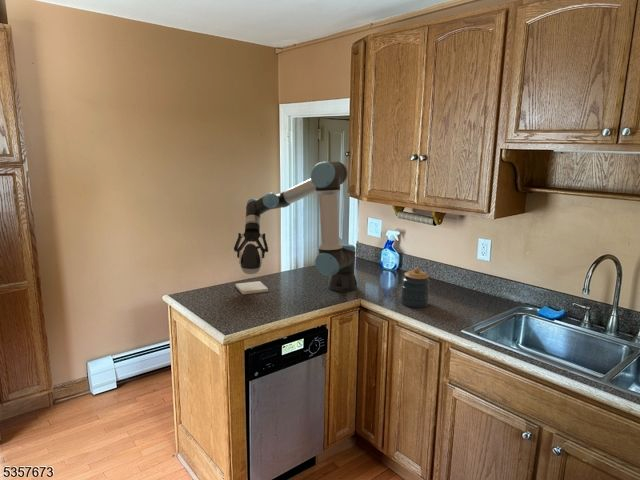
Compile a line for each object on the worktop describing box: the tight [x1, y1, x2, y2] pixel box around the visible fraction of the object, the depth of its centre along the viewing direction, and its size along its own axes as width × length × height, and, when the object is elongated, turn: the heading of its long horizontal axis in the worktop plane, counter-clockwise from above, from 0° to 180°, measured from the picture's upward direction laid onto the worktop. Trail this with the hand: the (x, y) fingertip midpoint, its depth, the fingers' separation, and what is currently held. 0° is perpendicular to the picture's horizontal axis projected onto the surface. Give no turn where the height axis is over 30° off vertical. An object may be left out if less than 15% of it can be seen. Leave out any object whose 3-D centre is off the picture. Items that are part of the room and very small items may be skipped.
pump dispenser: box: [239, 242, 263, 275], centre depth 220 cm, size 10×10×15 cm
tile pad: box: [235, 280, 269, 295], centre depth 223 cm, size 13×13×2 cm
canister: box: [400, 267, 431, 309], centre depth 209 cm, size 13×13×18 cm
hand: (250, 263), depth 218 cm, fingers closed on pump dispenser, 10 cm apart
